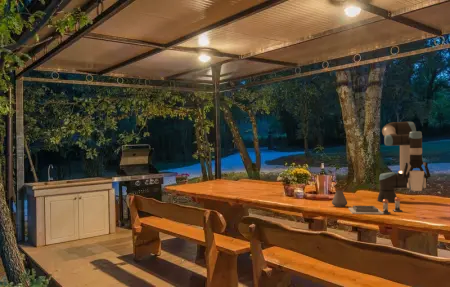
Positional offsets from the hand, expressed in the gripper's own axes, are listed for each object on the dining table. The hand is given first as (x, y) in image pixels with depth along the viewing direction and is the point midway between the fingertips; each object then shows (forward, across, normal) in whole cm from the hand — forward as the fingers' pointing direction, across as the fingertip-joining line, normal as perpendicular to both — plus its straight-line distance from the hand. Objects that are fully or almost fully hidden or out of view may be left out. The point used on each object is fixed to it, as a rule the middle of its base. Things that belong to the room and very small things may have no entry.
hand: (416, 187), depth 251 cm
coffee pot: (+18, -44, +32) cm, 57 cm away
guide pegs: (+17, -15, +4) cm, 23 cm away
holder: (+17, -32, +6) cm, 37 cm away
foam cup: (+2, 0, 0) cm, 2 cm away
